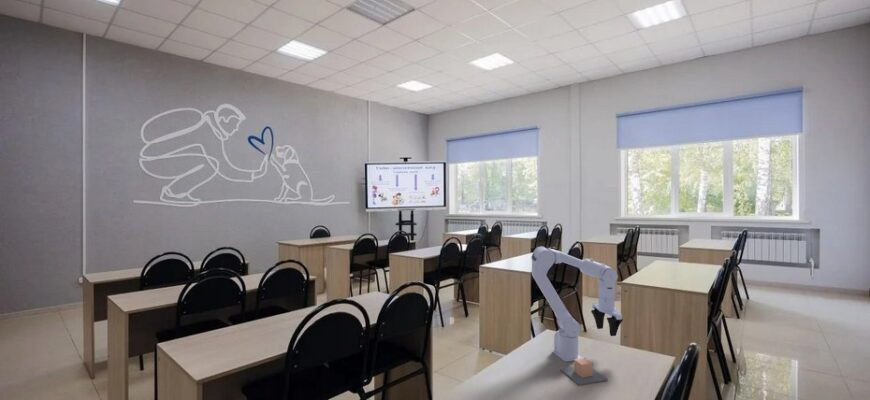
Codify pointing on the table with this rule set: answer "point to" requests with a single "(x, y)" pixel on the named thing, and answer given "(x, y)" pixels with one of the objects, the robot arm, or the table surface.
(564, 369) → the mat
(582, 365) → the cube
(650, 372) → the table surface
